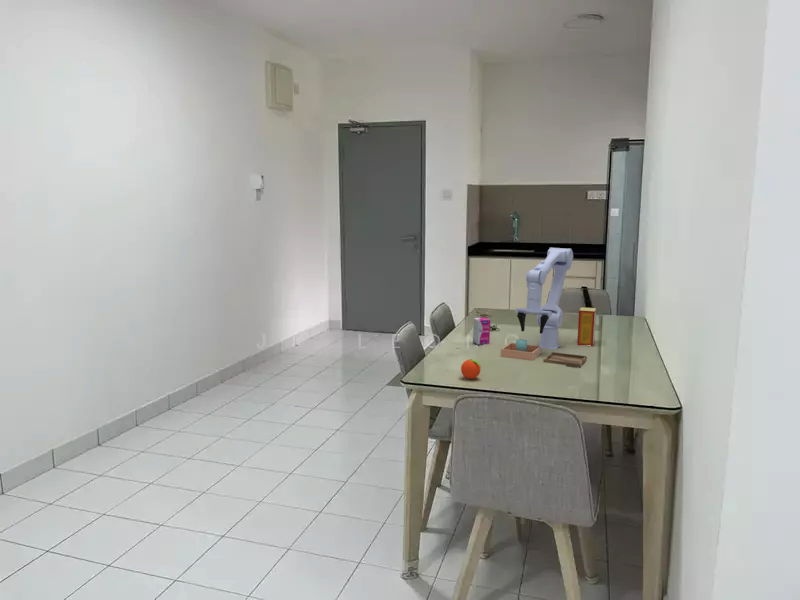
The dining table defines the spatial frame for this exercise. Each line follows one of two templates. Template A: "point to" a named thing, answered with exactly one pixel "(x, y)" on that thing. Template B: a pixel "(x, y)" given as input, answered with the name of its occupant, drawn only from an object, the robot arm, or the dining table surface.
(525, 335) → the dining table surface
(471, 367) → the clementine
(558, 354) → the tray
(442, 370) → the dining table surface
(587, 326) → the baking soda box
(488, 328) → the supplement box
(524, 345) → the teal cylinder
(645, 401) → the dining table surface
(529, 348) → the pink storage bin
